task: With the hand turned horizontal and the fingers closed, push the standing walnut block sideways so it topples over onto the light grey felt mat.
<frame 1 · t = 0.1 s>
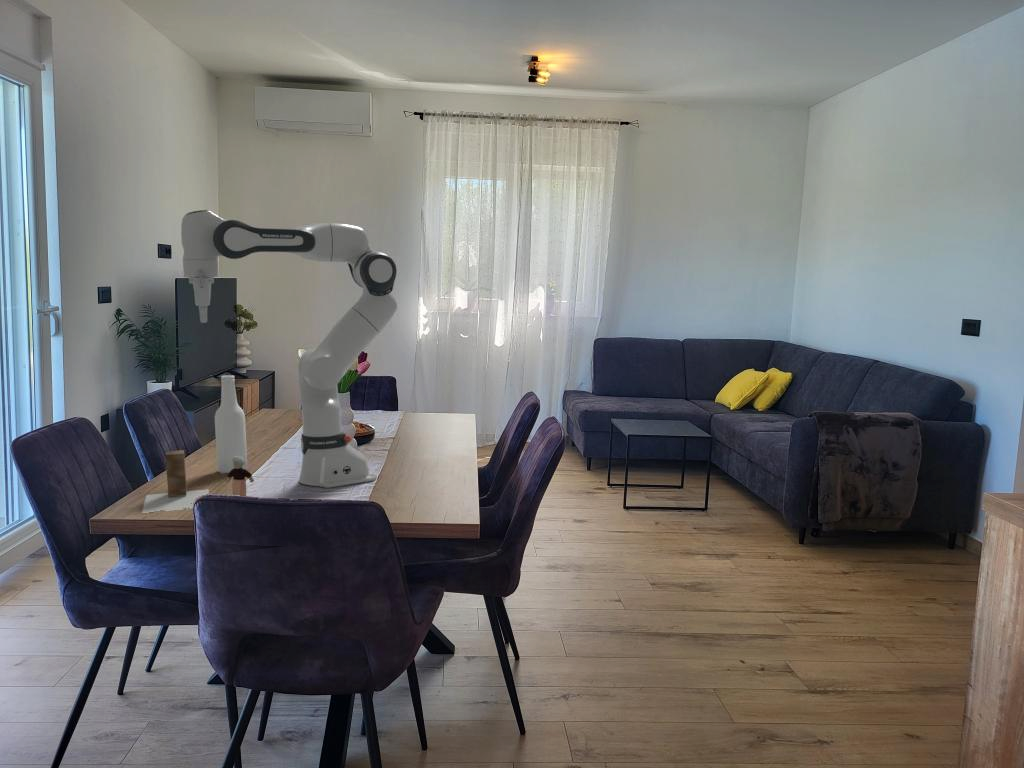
hand: (204, 321, 212), 48 cm above the table, tool pointing down, fingers open, 8 cm apart
alcohol: (232, 471, 241), on the table
walnut block: (177, 494, 213), resting on felt mat
felt mat: (177, 502, 207), on the table
grandmother figurine: (240, 502, 209), on the table
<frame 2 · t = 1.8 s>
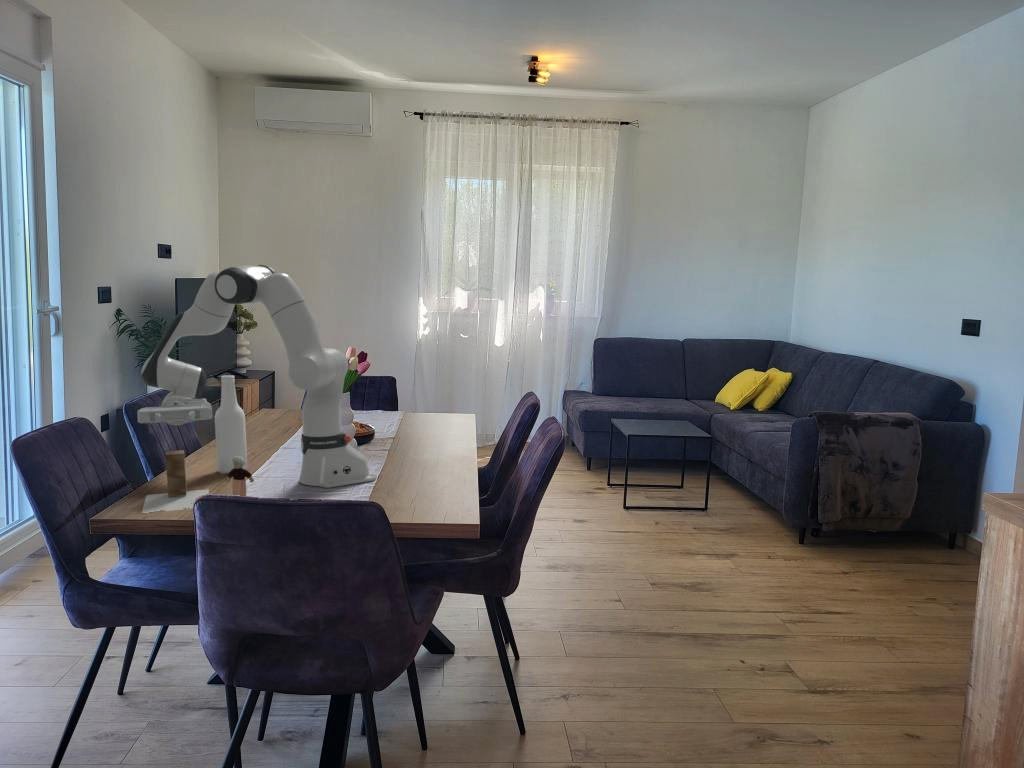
hand: (174, 418, 220), 20 cm above the table, tool horizontal, fingers open, 5 cm apart
nothing on the table moved.
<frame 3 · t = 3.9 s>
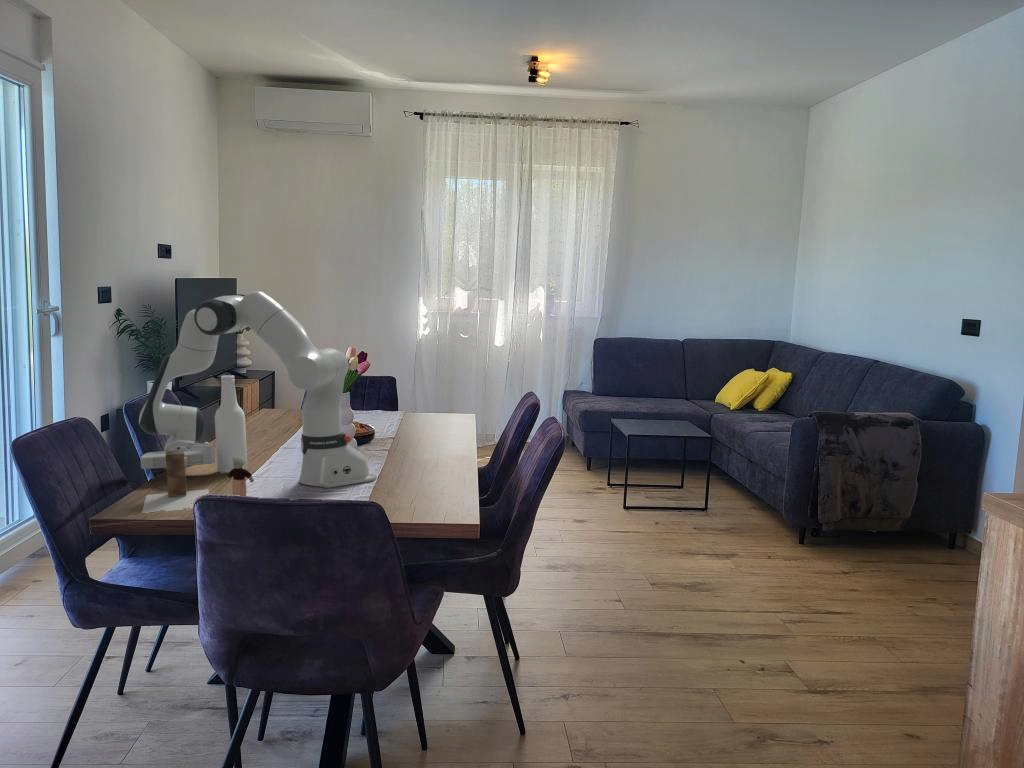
hand: (177, 464, 222), 7 cm above the table, tool horizontal, fingers closed
nothing on the table moved.
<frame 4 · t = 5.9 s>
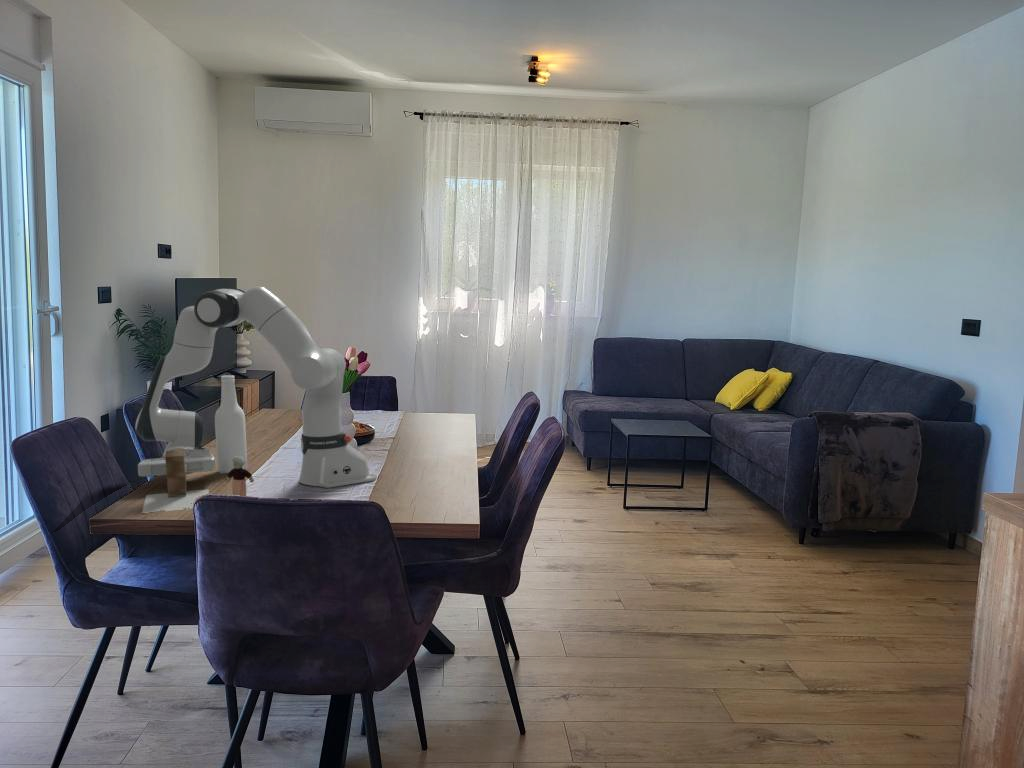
hand: (176, 471, 213), 7 cm above the table, tool horizontal, fingers closed, pressing on walnut block
walnut block: (177, 493, 213), point 1 cm above the table, tilted 9°, touching felt mat, gripper
everything else where it was.
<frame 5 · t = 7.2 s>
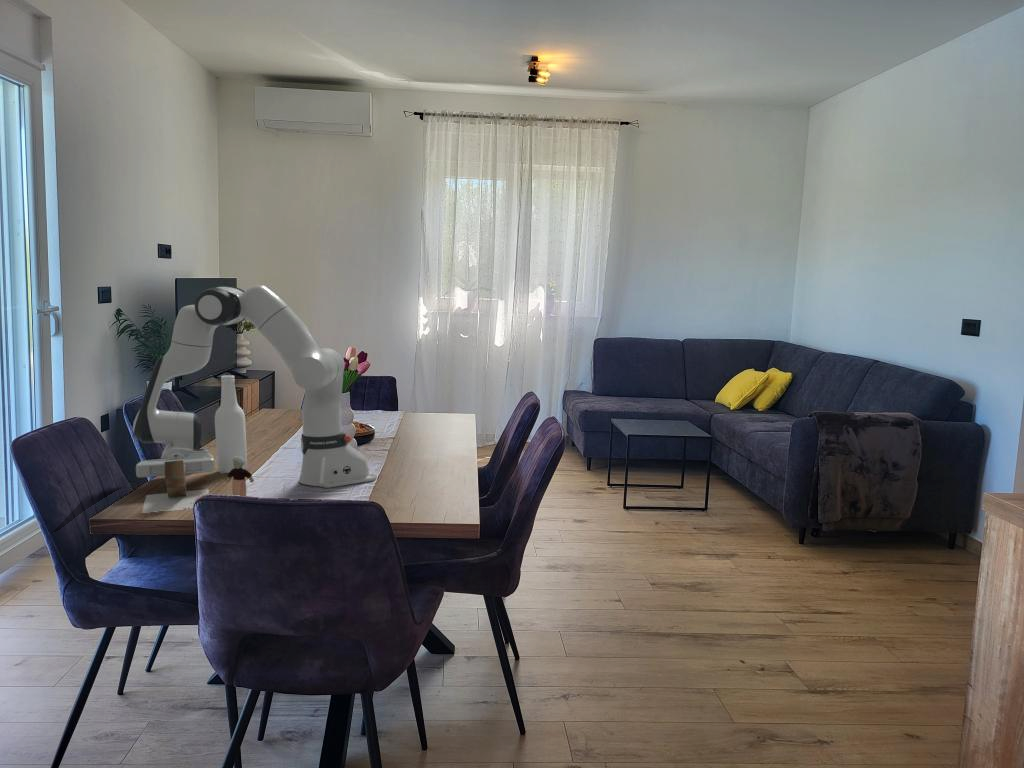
hand: (175, 472, 210), 7 cm above the table, tool horizontal, fingers closed, pressing on walnut block
walnut block: (177, 489, 212), point 2 cm above the table, tilted 47°, touching felt mat, gripper
everything else where it was.
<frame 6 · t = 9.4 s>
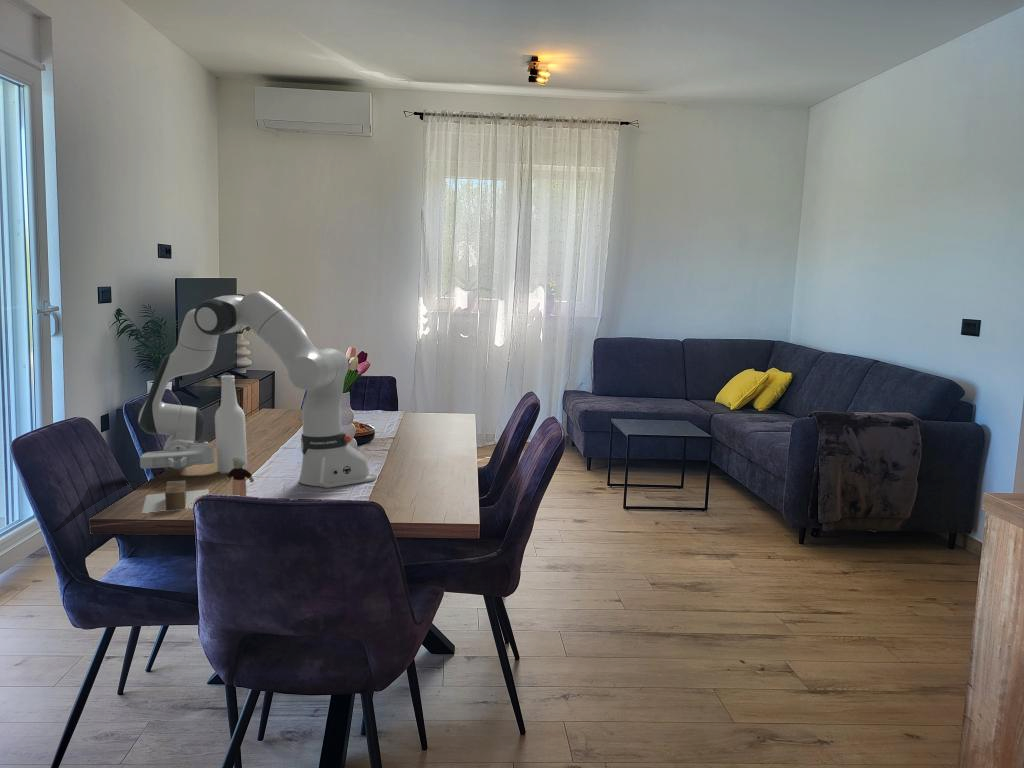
hand: (177, 464, 222), 7 cm above the table, tool horizontal, fingers closed
walnut block: (176, 489, 210), point 3 cm above the table, tilted 90°, touching felt mat
everything else where it was.
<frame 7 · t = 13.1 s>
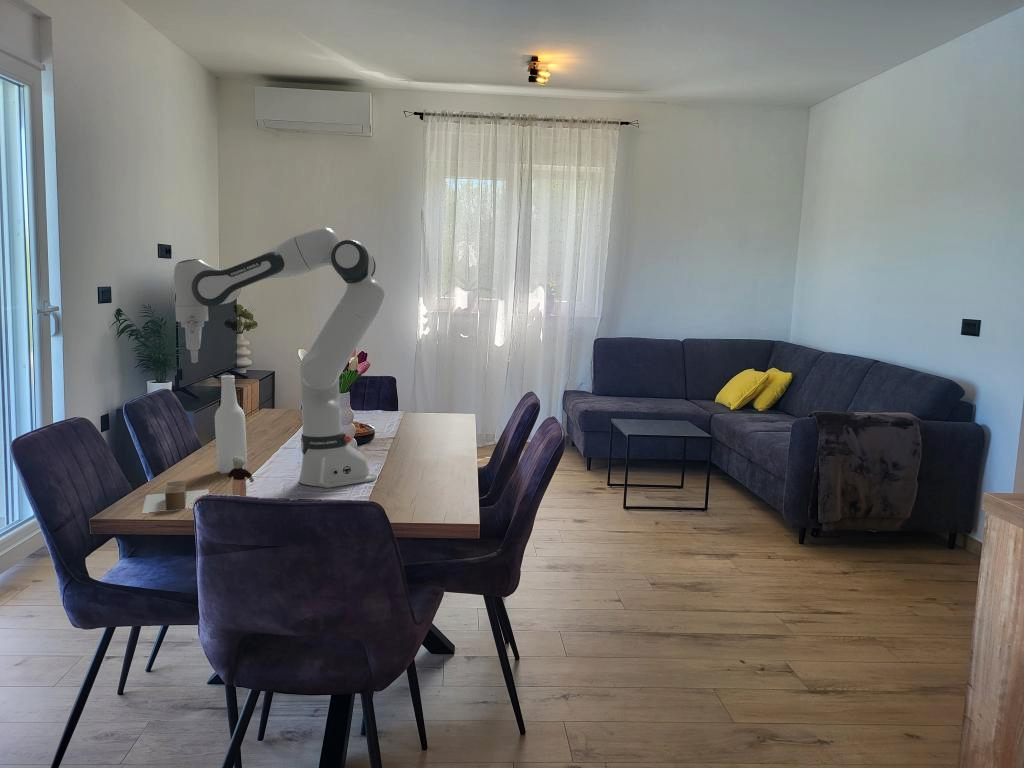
hand: (194, 362, 228), 35 cm above the table, tool pointing down, fingers closed
nothing on the table moved.
at the end: walnut block tilted 90°; walnut block inside the target area on the felt mat (4.2 cm from its centre), point 2.7 cm above the felt mat's base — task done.
